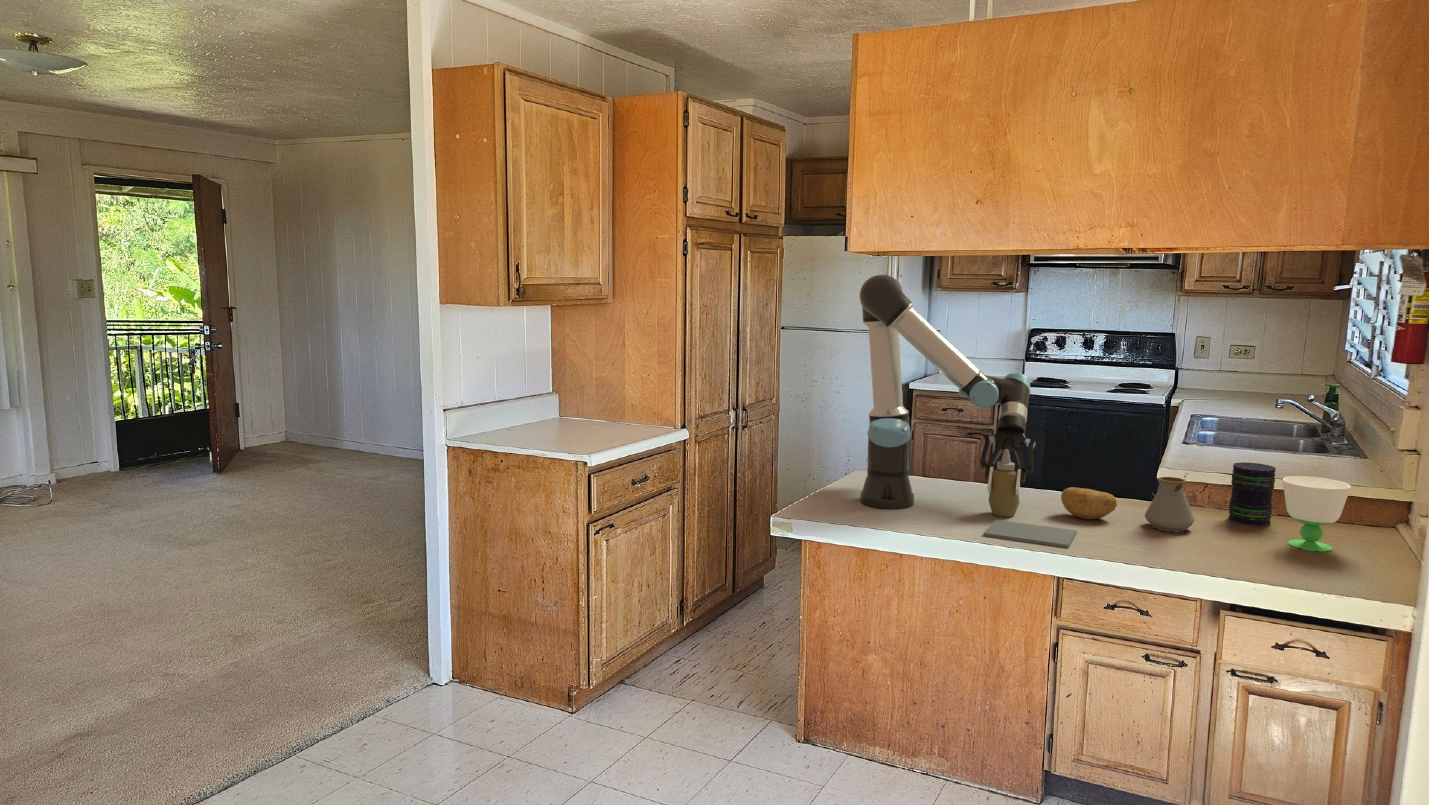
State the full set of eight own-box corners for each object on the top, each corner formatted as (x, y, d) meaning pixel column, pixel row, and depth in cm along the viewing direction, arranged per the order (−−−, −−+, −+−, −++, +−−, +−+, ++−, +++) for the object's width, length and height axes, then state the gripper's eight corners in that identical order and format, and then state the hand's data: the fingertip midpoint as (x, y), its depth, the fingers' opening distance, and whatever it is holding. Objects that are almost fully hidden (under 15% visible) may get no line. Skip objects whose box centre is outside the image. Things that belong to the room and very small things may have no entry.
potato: (1113, 526, 233) (1115, 496, 231) (1056, 518, 240) (1058, 489, 239) (1118, 517, 241) (1120, 488, 240) (1063, 510, 248) (1065, 482, 247)
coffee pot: (1142, 520, 239) (1146, 465, 237) (1190, 524, 235) (1195, 468, 232) (1149, 542, 219) (1153, 482, 217) (1202, 547, 215) (1207, 486, 213)
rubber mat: (983, 535, 224) (983, 532, 224) (995, 522, 236) (996, 519, 236) (1068, 548, 214) (1068, 544, 214) (1076, 533, 226) (1076, 530, 226)
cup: (1293, 553, 210) (1299, 488, 208) (1266, 536, 224) (1271, 475, 221) (1356, 556, 208) (1363, 490, 206) (1325, 539, 222) (1331, 476, 219)
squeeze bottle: (981, 514, 244) (984, 449, 241) (997, 509, 249) (1001, 445, 247) (1008, 520, 238) (1012, 454, 235) (1024, 515, 243) (1028, 450, 241)
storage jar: (1279, 526, 233) (1284, 470, 231) (1241, 526, 233) (1246, 470, 231) (1256, 516, 243) (1261, 462, 240) (1220, 516, 243) (1224, 462, 240)
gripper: (1048, 432, 251) (1041, 502, 238) (977, 427, 258) (966, 494, 246) (1048, 416, 245) (1041, 487, 233) (975, 411, 253) (964, 479, 240)
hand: (1003, 490), depth 239 cm, fingers closed on squeeze bottle, 6 cm apart
